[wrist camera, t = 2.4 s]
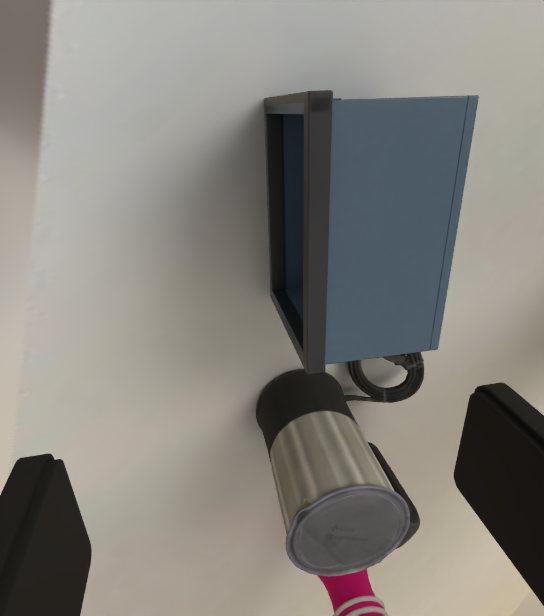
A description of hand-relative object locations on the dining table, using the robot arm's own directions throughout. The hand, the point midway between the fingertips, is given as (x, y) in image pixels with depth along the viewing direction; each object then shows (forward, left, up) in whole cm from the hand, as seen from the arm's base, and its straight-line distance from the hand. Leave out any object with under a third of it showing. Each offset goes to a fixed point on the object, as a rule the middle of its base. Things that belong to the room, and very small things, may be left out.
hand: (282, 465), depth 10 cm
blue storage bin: (-9, 0, -26) cm, 28 cm away
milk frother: (-11, +18, -27) cm, 34 cm away
